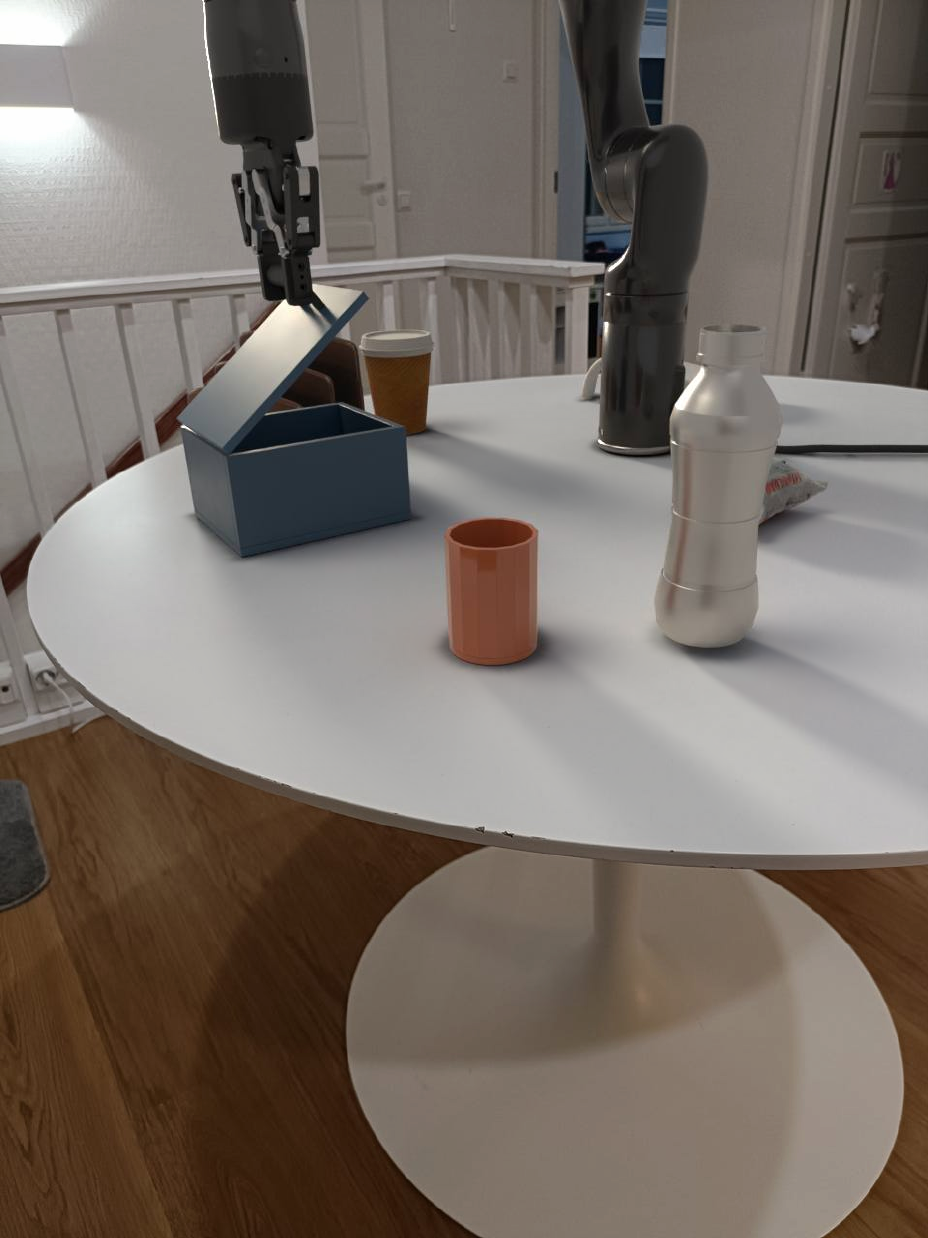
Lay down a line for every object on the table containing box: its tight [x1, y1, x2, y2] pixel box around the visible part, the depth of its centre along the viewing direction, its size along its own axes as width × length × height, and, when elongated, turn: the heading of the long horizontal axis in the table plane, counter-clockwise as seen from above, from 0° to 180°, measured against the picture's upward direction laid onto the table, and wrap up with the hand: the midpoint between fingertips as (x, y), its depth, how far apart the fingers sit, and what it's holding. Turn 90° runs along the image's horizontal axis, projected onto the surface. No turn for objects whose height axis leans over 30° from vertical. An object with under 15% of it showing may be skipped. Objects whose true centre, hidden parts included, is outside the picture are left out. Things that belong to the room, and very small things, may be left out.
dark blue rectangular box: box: [179, 402, 412, 558], centre depth 82 cm, size 17×14×9 cm
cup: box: [443, 517, 539, 666], centre depth 58 cm, size 6×6×8 cm
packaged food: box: [759, 458, 829, 525], centre depth 80 cm, size 9×12×5 cm
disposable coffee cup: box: [358, 329, 436, 436], centre depth 113 cm, size 10×10×12 cm
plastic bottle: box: [653, 323, 784, 649], centre depth 55 cm, size 6×7×20 cm
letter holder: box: [187, 329, 366, 413], centre depth 101 cm, size 10×20×14 cm, turn 53°
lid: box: [176, 264, 370, 454], centre depth 76 cm, size 18×14×5 cm
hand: (287, 301), depth 76 cm, fingers closed on lid, 5 cm apart
